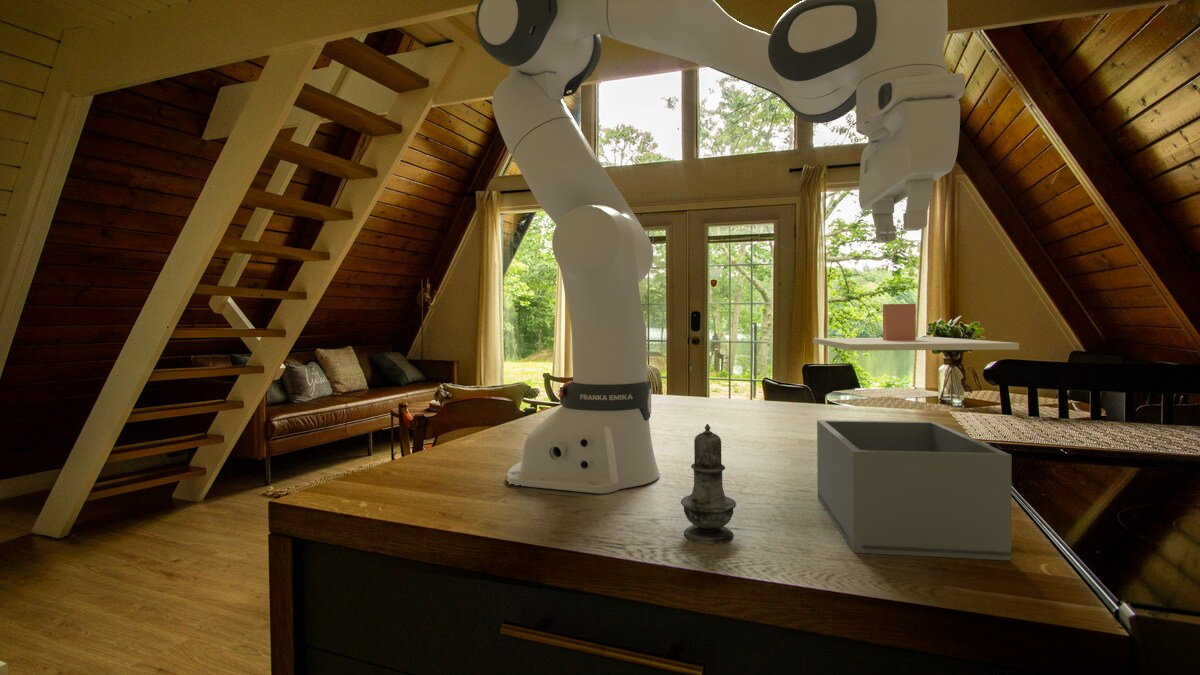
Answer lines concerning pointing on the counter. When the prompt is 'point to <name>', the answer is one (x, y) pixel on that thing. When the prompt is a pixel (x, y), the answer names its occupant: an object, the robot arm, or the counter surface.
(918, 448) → the box
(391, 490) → the counter surface
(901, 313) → the lid
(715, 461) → the salt shaker
